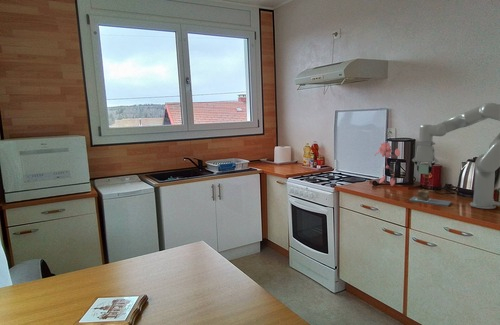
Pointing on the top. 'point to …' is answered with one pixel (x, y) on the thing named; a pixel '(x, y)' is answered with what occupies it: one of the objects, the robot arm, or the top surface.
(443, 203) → the baseplate
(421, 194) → the walnut cube
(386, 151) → the pink flower sprig
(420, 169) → the green cube
